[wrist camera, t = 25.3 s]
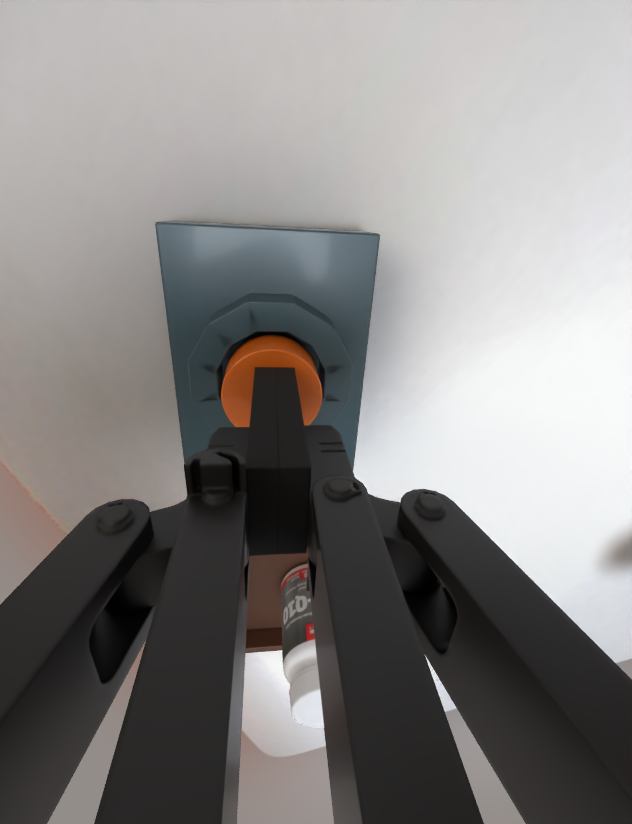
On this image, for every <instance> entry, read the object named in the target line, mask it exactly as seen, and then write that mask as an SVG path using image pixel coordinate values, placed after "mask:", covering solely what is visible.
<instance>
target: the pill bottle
mask: <svg viewBox="0 0 632 824" xmlns="http://www.w3.org/2000/svg"><path fill="white" fill-rule="evenodd" d="M307 571H308V564H303V565H300V566H298V567H296V568H294V569H292V570H291V571H290V572H289V573H288V574H287V575H286V576H285V577H284V579H283V581H282V584H281V614H282V649H283V652H282V654H283V669H284V674H285V677H286V679H287V681H288V682H289V683H290V690H289V695H290V704H291V714H292V717H293V719H294V720H295V721H296V722H297V723H299V724H301V725H304V726H307V727H314V728H322V727H324V721H323V712H322V702H321V693H320V684H319V674H318V665H317V655H316V646H315V636H314V627H313V617H312V608H311V598H310V591H306V588H307Z"/></svg>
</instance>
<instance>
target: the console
mask: <svg viewBox="0 0 632 824" xmlns="http://www.w3.org/2000/svg"><path fill="white" fill-rule="evenodd" d="M155 225H156V233H157V241H158V249H159V258H160V266H161V274H162V282H163V290H164V299H165V307H166V315H167V323H168V332H169V340H170V348H171V356H172V364H173V373H174V381H175V389H176V397H177V405H178V414H179V422H180V430H181V438H182V447H183V455H184V463H186V461H187V460H188V458H190V457H191V456H193V455H194V454H196V453H198V452H201V451H204V450H207V447H208V443H209V439H210V436H211V435H212V434H213V433H214V432H215V431H216V430H217V429H218V428H219V427H235V426H234V425H233V424H232V422H231V421H230V420H229V418H228V417H227V415H226V413H225V411H224V409H223V405H222V400H221V389H222V384H223V380H224V376H225V372H226V368H227V365H228V362H229V360H230V358H231V356H232V355H233V353H234V352H235V351H236V350H237V349H238V347H240V346H241V345H242V344H243V343H245V342H247V341H248V340H250V339H252V338H255V337H258V336H263V335H279V336H284V337H287V338H290V339H292V340H294V341H296V342H297V343H299V344H300V345H301V346H302V347H304V348H305V349H306V350H307V352H308V353H309V354H310V356H311V357H312V359H313V361H314V364H315V367H316V370H317V373H318V376H319V379H320V383H321V387H322V403H321V406H320V410H319V412H318V414H317V416H316V417H315V419H314V420H313V422H312V423H311V424H310V425H332V426H333V427H334V428H335V429H336V430H337V431H338V432H339V433H340V434H341V437H342V440H343V444H344V446H345V449H346V452H347V455H348V459H349V462H350V465H351V468H352V471H353V467H354V458H355V449H356V440H357V432H358V423H359V414H360V405H361V397H362V388H363V379H364V370H365V362H366V353H367V344H368V335H369V327H370V318H371V309H372V300H373V291H374V283H375V274H376V265H377V256H378V248H379V239H380V235H379V234H377V233H371V232H366V231H355V230H336V229H318V228H299V227H280V226H262V225H243V224H224V223H206V222H187V221H164V222H156V224H155Z"/></svg>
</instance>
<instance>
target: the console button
mask: <svg viewBox="0 0 632 824" xmlns="http://www.w3.org/2000/svg"><path fill="white" fill-rule="evenodd" d="M255 367H295V373H296V379H297V385H298V391H299V397H300V403H301V409H302V415H303V421H304V425H310V424H311V423H312V422H313V420H314V419H315V417H316V416H317V414H318V412H319V410H320V406H321V403H322V387H321V383H320V379H319V376H318V373H317V370H316V367H315V364H314V361H313V359H312V357H311V356H310V354H309V353H308V352H307V350H306V349H305V348H304V347H302V346H301V345H300V344H299V343H297V342H296V341H294V340H292V339H290V338H287V337H284V336H279V335H263V336H258V337H255V338H252V339H250V340H248V341H247V342H245V343H243V344H242V345H241V346H240V347H238V349H237V350H236V351H235V352H234V353H233V355H232V356H231V358H230V360H229V362H228V365H227V368H226V372H225V376H224V380H223V384H222V389H221V400H222V405H223V409H224V411H225V413H226V415H227V417H228V418H229V420H230V421H231V422H232V424H233V425H234V426H235V427H249V426H250V415H251V404H252V393H253V382H254V371H255Z"/></svg>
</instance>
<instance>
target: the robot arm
mask: <svg viewBox="0 0 632 824" xmlns="http://www.w3.org/2000/svg"><path fill="white" fill-rule="evenodd" d="M184 471H185V479H186V487H187V499H186V500H184V501H183V502H181V503H179V504H177V505H174V506H171V507H168V508H164V509H160V510H156V511H152V512H150V510H149V507H148V506H147V505H146V504H145V503H143V502H141V501H138V500H134V499H121V500H116V501H112V502H108V503H106V504H104V505H101V506H99V507H97V508H95V509H94V510H93V511H92V512H90V513H89V514H88V515H86V516H85V518H84V519H83V520H82V521H81V522H80V523H79V524H78V525H77V526H76V527H75V528H74V529H73V530H72V531H71V532H70V533H69V534H68V535H67V536H66V537H65V538H64V539H63V540H62V541H61V543H60V544H58V546H57V547H56V548H55V549H54V550H53V551H52V552H51V553H50V554H49V555H48V556H47V557H46V558H45V559H44V560H43V561H42V562H41V563H40V564H39V565H38V566H37V567H36V568H35V569H34V570H33V572H31V574H30V575H29V576H28V577H27V578H26V579H25V580H24V581H23V582H22V583H21V584H20V585H19V586H18V587H17V588H16V589H15V590H14V591H13V592H12V593H11V594H10V595H9V596H8V597H7V598H6V599H5V601H4V602H3V603H2V604H1V605H0V824H47V823H48V821H49V819H50V817H51V815H52V813H53V811H54V810H55V808H56V806H57V804H58V802H59V800H60V798H61V797H62V794H63V793H64V791H65V789H66V787H67V785H68V784H69V782H70V780H71V778H72V776H73V774H74V772H75V771H76V769H77V767H78V765H79V763H80V761H81V759H82V757H83V756H84V754H85V752H86V750H87V748H88V746H89V744H90V742H91V741H92V739H93V737H94V735H95V733H96V731H97V730H98V728H99V726H100V724H101V722H102V720H103V718H104V717H105V715H106V713H107V711H108V709H109V707H110V706H111V704H112V702H113V700H114V698H115V696H116V694H117V692H118V690H119V689H120V687H121V685H122V683H123V681H124V679H125V677H126V675H127V674H128V672H129V670H130V668H131V666H132V664H133V663H134V661H135V659H136V657H137V655H138V653H139V651H140V650H141V648H142V646H143V644H144V642H145V640H146V639H147V640H146V643H145V647H144V650H143V654H142V658H141V661H140V664H139V668H138V672H137V675H136V678H135V682H134V685H133V689H132V693H131V696H130V699H129V703H128V707H127V710H126V714H125V717H124V721H123V724H122V728H121V731H120V735H119V738H118V742H117V746H116V749H115V752H114V756H113V759H112V763H111V767H110V770H109V774H108V777H107V781H106V784H105V788H104V791H103V795H102V798H101V802H100V806H99V809H98V812H97V816H96V819H95V823H94V824H237V807H238V786H239V767H240V747H241V728H242V708H243V688H244V668H245V648H246V628H247V608H248V589H249V556H256V555H278V554H299V553H307V547H308V571H307V588H306V591H310V598H311V608H312V617H313V627H314V636H315V646H316V655H317V665H318V674H319V684H320V693H321V702H322V712H323V721H324V731H325V740H326V749H327V759H328V768H329V778H330V788H331V796H332V806H333V816H334V824H484V823H483V820H482V818H481V815H480V812H479V809H478V806H477V803H476V800H475V797H474V794H473V792H472V789H471V786H470V783H469V780H468V777H467V775H466V772H465V769H464V766H463V763H462V760H461V758H460V755H459V752H458V749H457V746H456V743H455V740H454V737H453V735H452V732H451V729H450V726H449V723H448V720H447V718H446V715H445V712H444V709H443V706H442V703H441V700H440V697H439V695H438V692H437V689H436V686H435V683H434V680H433V677H432V675H431V672H430V669H429V666H428V663H427V660H426V657H427V659H428V660H429V662H430V664H431V665H432V667H433V669H434V670H435V672H436V674H437V675H438V677H439V679H440V680H441V682H442V684H443V686H444V687H445V689H446V691H447V692H448V694H449V696H450V697H451V699H452V701H453V702H454V704H455V706H456V707H457V709H458V711H459V712H460V714H461V716H462V717H463V719H464V721H465V722H466V724H467V726H468V727H469V729H470V731H471V732H472V734H473V736H474V738H475V739H476V741H477V742H478V744H479V746H480V748H481V749H482V751H483V753H484V754H485V756H486V758H487V759H488V761H489V763H490V764H491V766H492V767H493V769H494V771H495V773H496V774H497V776H498V778H499V779H500V781H501V783H502V784H503V786H504V788H505V790H506V791H507V793H508V794H509V796H510V798H511V800H512V801H513V803H514V805H515V806H516V808H517V810H518V811H519V813H520V815H521V816H522V818H523V820H524V821H525V823H526V824H632V679H630V677H628V676H627V674H626V673H625V672H623V671H622V670H621V668H620V667H619V666H618V665H616V663H615V662H614V661H613V660H612V659H611V658H610V657H609V656H608V655H607V654H606V653H605V652H604V651H603V650H602V649H601V648H600V647H599V646H598V645H597V644H596V643H595V642H594V641H593V640H591V639H590V638H589V637H588V636H587V635H586V634H585V633H584V632H583V631H582V630H581V629H580V628H579V627H578V626H577V625H576V624H575V623H574V622H573V621H572V620H571V619H570V618H569V617H568V616H567V615H566V614H565V613H564V612H563V611H562V610H561V609H560V608H559V607H558V606H557V605H556V604H555V603H554V602H553V601H552V600H551V599H550V598H549V597H548V596H547V595H546V594H545V593H544V592H543V591H542V590H541V589H540V588H539V587H538V586H537V585H536V584H535V583H534V582H533V581H532V580H531V579H530V578H529V577H528V576H527V575H526V574H525V573H524V572H523V571H522V570H521V569H520V568H519V567H518V566H517V565H516V564H515V563H514V562H513V561H512V560H511V559H510V558H509V557H508V556H507V555H506V554H505V553H504V552H503V551H502V550H501V549H500V548H499V547H498V546H497V545H496V544H495V543H494V542H493V541H492V540H491V539H490V538H489V537H488V536H487V535H486V534H485V533H484V532H483V531H482V530H481V529H480V528H479V527H478V526H477V525H476V524H475V523H474V522H473V521H472V520H471V519H470V518H469V517H468V516H467V515H466V514H465V513H464V512H463V511H462V510H461V509H460V508H459V507H458V506H457V505H456V504H455V503H454V502H453V501H452V500H450V499H449V498H448V497H446V496H445V495H443V494H440V493H438V492H436V491H431V490H426V489H418V490H412V491H409V492H407V493H405V495H404V496H403V497H402V498H401V503H400V502H394V501H389V500H384V499H381V498H377V497H374V496H372V495H370V494H368V492H367V489H366V488H365V486H364V485H363V483H361V482H360V481H358V480H357V479H356V478H355V477H354V474H353V471H352V468H351V465H350V462H349V459H348V455H347V452H346V449H345V446H344V444H343V440H342V437H341V434H340V433H339V432H338V431H337V430H336V429H335V428H334V427H333V426H332V425H304V421H303V415H302V409H301V403H300V397H299V391H298V385H297V379H296V373H295V367H255V371H254V382H253V393H252V404H251V415H250V426H249V427H219V428H218V429H217V430H216V431H215V432H214V433H213V434H212V435H211V436H210V439H209V443H208V447H207V450H204V451H201V452H198V453H196V454H194V455H193V456H191V457H190V458H188V460H187V461H186V463H185V464H184ZM424 654H425V655H426V657H425V655H424Z"/></svg>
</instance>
